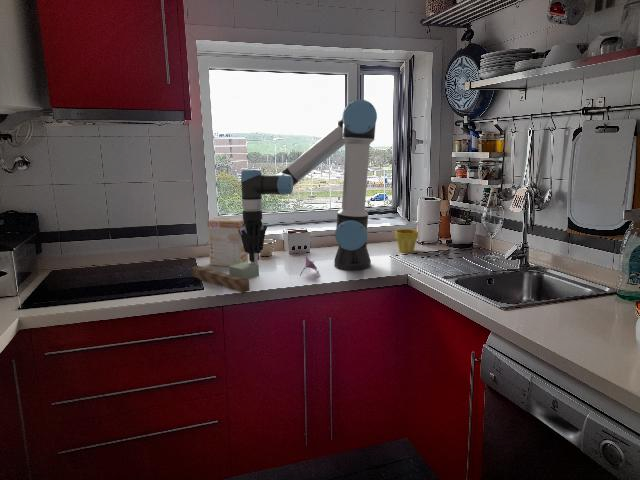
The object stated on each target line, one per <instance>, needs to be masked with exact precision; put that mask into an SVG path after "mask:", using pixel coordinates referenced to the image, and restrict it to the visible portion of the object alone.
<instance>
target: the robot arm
mask: <svg viewBox="0 0 640 480" xmlns="http://www.w3.org/2000/svg"><path fill="white" fill-rule="evenodd" d="M377 120H378V114H377V110H376V108H375V106H374V104H372V102H370V101H368V100H366V99H355V100H353V101H351V102H349V103H348V104H347V105H346V106H345V107H344V109H343V112H342V118H340V119H339V120H337V122H336V126H335V127H334V128H331V130H330V131H329V132H328V133H327V134H325V135H324V136H323V137H322V138H321V139H319V140H318V141H317V142H315V143H314V144H313V145H311V147H309V148H308V149H307V150H306V151H305V152H303V153H302V154H301V155H300V156H298V157H297V158H296V159H295V160H294V161H292V162H291V163H290V164H289V165H288V166H287V167H285V168H284V169H282V170H281V171H280V172H278V173H276V174H262V171H261V169H259V168H247V169H243V170H241V172H240V174H241V175H240V177H241V178H240V185H241V187H240V188H241V205H242V207H241V208H242V210H243V211H242V219H243V220H244V224H243V228H242V229H239V230H238V232H239V233H240V235H241V238H242V243H243V247H244V251H245V252H247V253H248V261H249V263H251V264H256V265H259V260H260V254H261V253H262V251H263V250H264V244H265V238H266V237H265V236H266V232H267V230H268V226H267V225H264V224H263V221H262V220H263V211H262V209H263V200H262V195H278V196H279V195H281V196H285V195H291V194H293V191H294V186H295V185H297V184H298V183H299V182H300V181H301V180H303V178H305V177H306V176H307V175H309V173H311V172H312V171H314V170H315V169H317V167H318V166H320V165H322V163H323V162H325V161H326V160H327V159H329V158H330V157H331V156H332V155H333V154H335V153H336V152H337V151H339V150H340V149H341V148H343V146H345V153H344V154H345V155H344V168H343V169H344V170H343V182H342V183H343V186H342V198H341V199H342V200H341V201H342V202H341V207H340V209H339V210H338V211H337V213H336V214H337V215H336V229H335V230H334V238H335V241H336V243H337V244H338V248H337V252H336V254H335V257H334V263H333V264H334V267H335V268H337V269H340V270H347V271H361V270H366V269H369V268H370V267H371V266H372V260H371V258H370V255H369V254H370V253H369V251H368V247H367V243H368V241H367V240H368V223H369V221H368V219H369V213H368V212H367V211H366V210H365V209H366V197H367V195H366V194H367V184H368V183H367V182H368V172H369V171H368V170H369V159H370V145H371V144H372V143H373V142H374V141H375V136H376V135H375V134H376V126H377V125H376V123H377Z"/></svg>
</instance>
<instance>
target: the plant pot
mask: <svg viewBox="0 0 640 480" xmlns="http://www.w3.org/2000/svg"><path fill="white" fill-rule="evenodd" d="M394 234H395V239H396V242H397V247H398V252H400V253H402V254H403V253H404V254H410V253H413V252H414V250H415V246H416V242H417V240H418V238H419V230H417V229H410V228H403V229H396V230H395V231H394Z"/></svg>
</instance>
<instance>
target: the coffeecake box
mask: <svg viewBox="0 0 640 480" xmlns="http://www.w3.org/2000/svg"><path fill="white" fill-rule="evenodd" d="M206 221H207V234H208V235H207V237H208V252H209V264H210V266H220V267H221V266H222V267H229V266H232V265H235V264H239V263H243V262H247V263H249V253H247V252H245V251H244V247H243V243H242V238H241V235H240V233H239V232H238V230H239V229H242V228H243V224H244V220H243V218H230V217H229V218H227V217H214V218H210V219H207V220H206Z"/></svg>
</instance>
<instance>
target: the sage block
mask: <svg viewBox="0 0 640 480" xmlns="http://www.w3.org/2000/svg"><path fill="white" fill-rule="evenodd" d="M228 274H231V275H234V276H238V277H242V278H246V279H249V280H250V279H253V278H257V277H259V276H260V265H259V264H258V265H256V264H251V262H248V263H247V262H243V263H239V264H235V265H232V266H228Z"/></svg>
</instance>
